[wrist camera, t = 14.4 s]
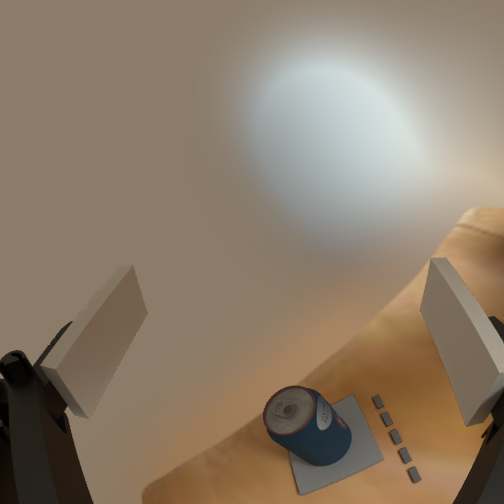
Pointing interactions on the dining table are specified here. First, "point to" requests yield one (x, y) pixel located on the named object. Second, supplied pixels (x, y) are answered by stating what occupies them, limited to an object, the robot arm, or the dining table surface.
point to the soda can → (307, 426)
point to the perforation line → (397, 439)
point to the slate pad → (354, 460)
